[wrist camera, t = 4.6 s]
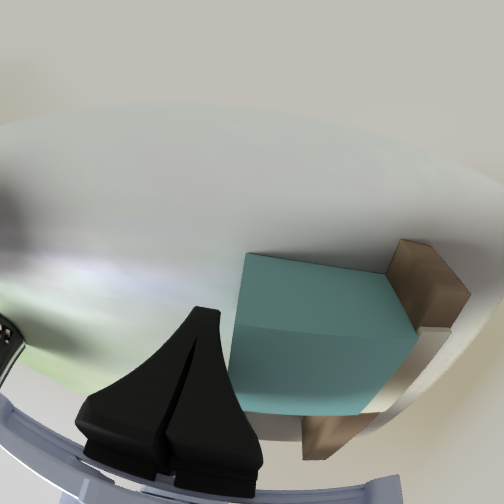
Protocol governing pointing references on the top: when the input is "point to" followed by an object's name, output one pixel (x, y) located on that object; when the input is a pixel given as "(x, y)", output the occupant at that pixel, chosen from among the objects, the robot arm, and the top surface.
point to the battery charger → (9, 347)
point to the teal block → (314, 338)
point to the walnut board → (430, 341)
